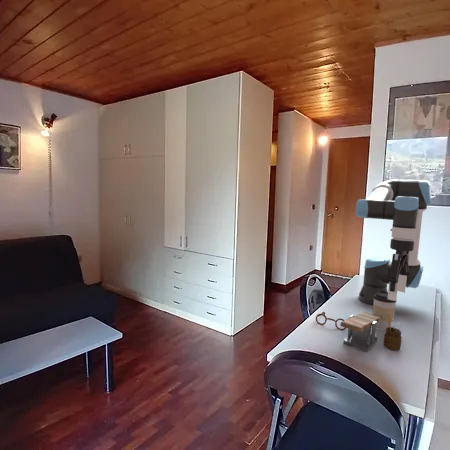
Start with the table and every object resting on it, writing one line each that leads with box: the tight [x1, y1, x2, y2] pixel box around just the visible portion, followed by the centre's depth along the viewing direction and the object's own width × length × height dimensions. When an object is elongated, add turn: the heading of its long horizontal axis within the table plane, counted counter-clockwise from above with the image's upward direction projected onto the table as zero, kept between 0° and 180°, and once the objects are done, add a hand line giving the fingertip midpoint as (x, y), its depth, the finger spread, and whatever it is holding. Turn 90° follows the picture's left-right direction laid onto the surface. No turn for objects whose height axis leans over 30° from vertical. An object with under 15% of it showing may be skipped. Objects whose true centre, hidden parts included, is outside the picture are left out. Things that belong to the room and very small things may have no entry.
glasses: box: [315, 311, 347, 331], centre depth 146 cm, size 13×13×5 cm
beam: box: [340, 311, 382, 332], centre depth 127 cm, size 28×7×2 cm, turn 140°
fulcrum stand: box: [342, 314, 378, 353], centre depth 127 cm, size 12×9×10 cm
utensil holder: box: [383, 314, 403, 352], centre depth 124 cm, size 6×6×12 cm
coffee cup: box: [372, 291, 397, 331], centre depth 142 cm, size 9×9×15 cm
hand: (396, 295), depth 121 cm, fingers open, 13 cm apart
